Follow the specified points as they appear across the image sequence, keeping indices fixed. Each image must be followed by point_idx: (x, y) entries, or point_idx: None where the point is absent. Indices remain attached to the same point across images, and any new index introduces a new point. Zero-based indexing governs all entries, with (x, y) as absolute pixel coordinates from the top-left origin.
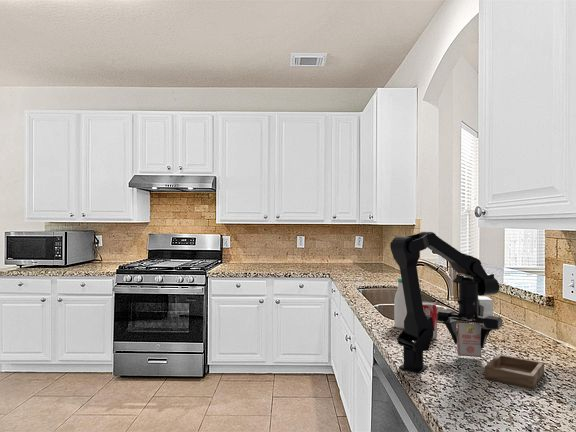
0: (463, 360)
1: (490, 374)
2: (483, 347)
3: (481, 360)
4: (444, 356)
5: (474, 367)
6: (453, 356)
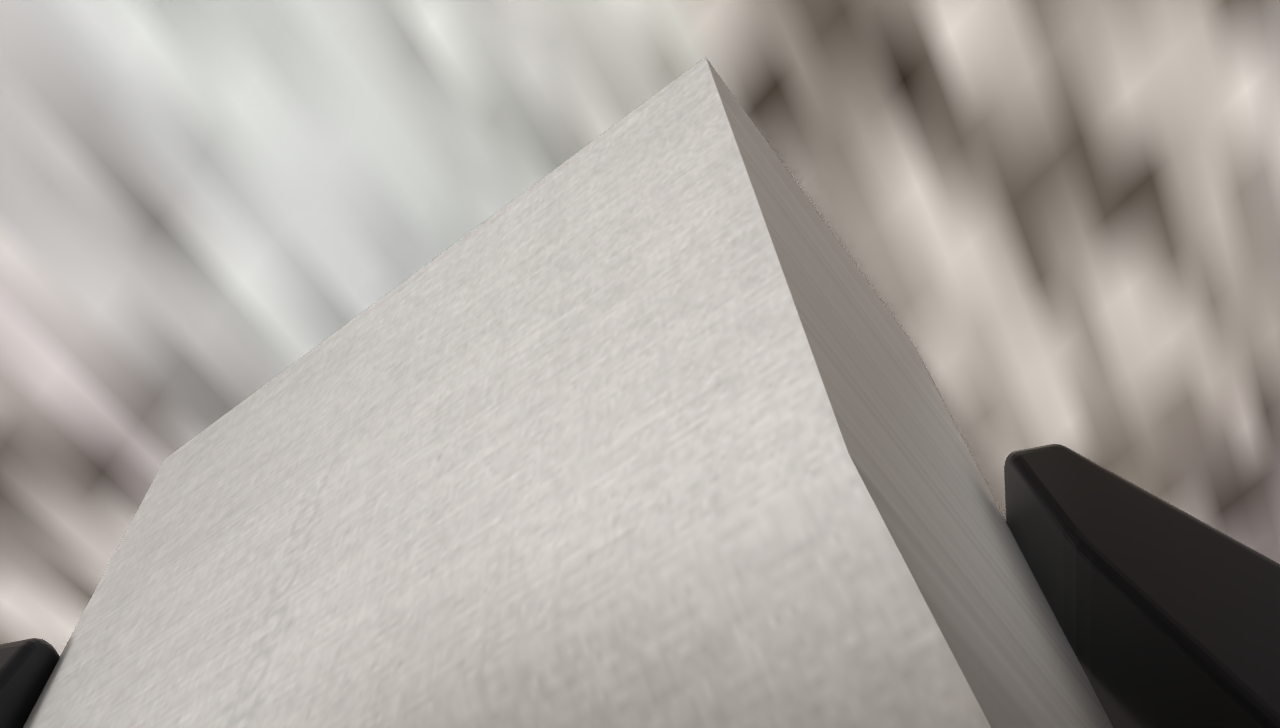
0: None
1: None
2: (1071, 465)
3: (837, 190)
4: (41, 600)
5: None
6: (153, 451)
